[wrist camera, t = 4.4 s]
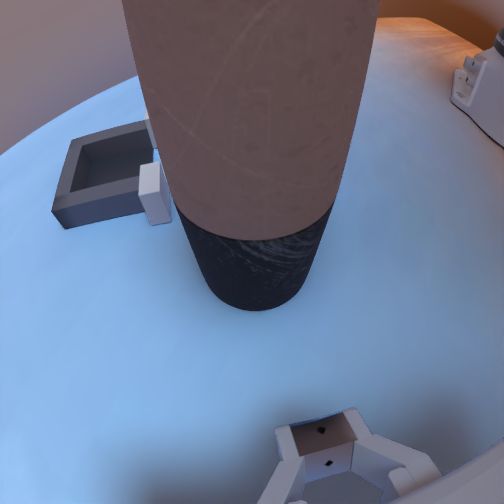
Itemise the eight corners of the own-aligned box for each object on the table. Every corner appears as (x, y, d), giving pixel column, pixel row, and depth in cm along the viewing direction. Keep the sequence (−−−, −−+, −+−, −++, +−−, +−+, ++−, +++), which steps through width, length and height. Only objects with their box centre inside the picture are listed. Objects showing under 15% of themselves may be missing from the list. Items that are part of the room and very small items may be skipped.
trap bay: (80, 157, 28) (71, 139, 25) (153, 139, 28) (148, 119, 26) (64, 229, 23) (51, 211, 21) (151, 210, 24) (143, 189, 22)
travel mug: (311, 219, 23) (360, -81, 6) (311, 320, 19) (444, -83, 2) (208, 212, 23) (161, -81, 6) (189, 310, 20) (42, -66, 2)
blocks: (154, 130, 29) (146, 102, 26) (291, 110, 30) (293, 82, 27) (152, 225, 23) (138, 195, 20) (332, 196, 24) (340, 164, 21)
